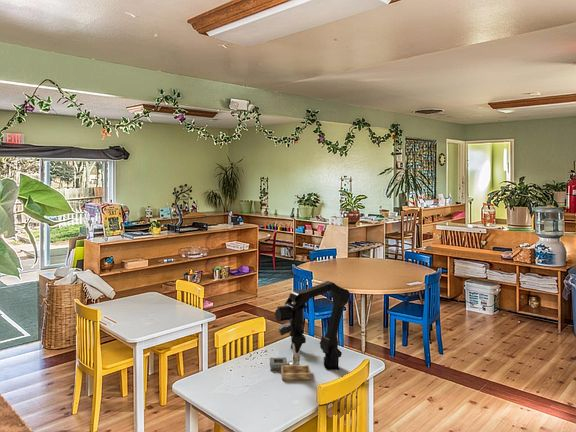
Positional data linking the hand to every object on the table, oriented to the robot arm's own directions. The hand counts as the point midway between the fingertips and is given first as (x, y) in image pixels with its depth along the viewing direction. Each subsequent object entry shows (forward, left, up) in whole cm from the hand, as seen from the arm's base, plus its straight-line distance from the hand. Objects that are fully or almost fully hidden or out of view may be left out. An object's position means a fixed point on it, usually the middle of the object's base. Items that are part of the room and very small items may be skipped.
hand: (296, 351), depth 205 cm
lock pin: (0, 0, -5) cm, 5 cm away
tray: (0, 0, -12) cm, 12 cm away
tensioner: (+4, -10, -12) cm, 16 cm away
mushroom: (-2, -31, -12) cm, 33 cm away
